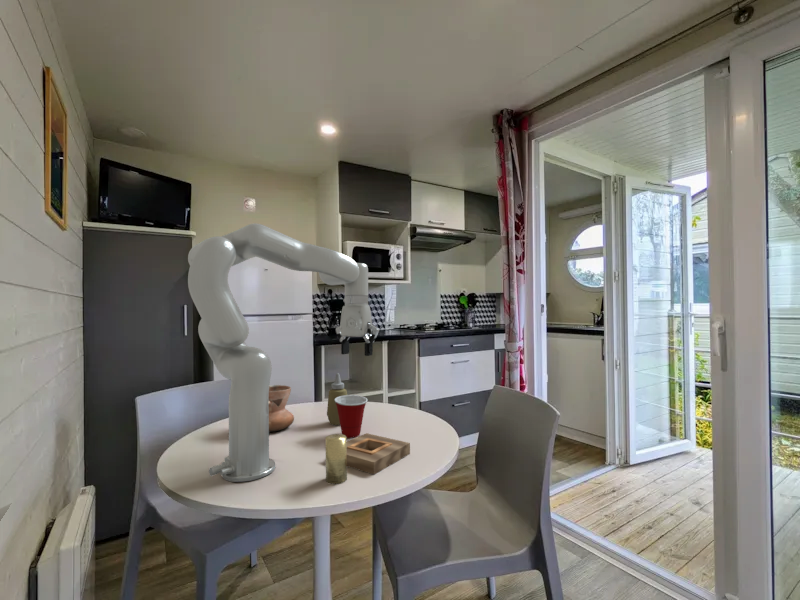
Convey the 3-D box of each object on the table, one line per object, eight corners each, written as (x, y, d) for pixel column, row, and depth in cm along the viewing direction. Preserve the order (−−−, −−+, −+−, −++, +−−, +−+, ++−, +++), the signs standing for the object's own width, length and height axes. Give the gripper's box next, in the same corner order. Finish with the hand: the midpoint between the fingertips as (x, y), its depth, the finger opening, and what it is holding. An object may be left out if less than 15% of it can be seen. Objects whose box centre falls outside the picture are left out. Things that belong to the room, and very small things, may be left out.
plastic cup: (351, 443, 114) (351, 403, 114) (327, 436, 121) (327, 399, 121) (375, 433, 123) (374, 397, 123) (351, 427, 129) (351, 393, 130)
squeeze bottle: (354, 422, 136) (353, 372, 137) (339, 428, 129) (339, 376, 130) (336, 419, 140) (336, 371, 141) (322, 424, 133) (321, 374, 134)
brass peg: (336, 486, 86) (335, 442, 86) (321, 480, 89) (321, 438, 89) (351, 478, 90) (350, 436, 90) (336, 473, 93) (335, 432, 93)
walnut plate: (374, 474, 92) (374, 461, 92) (328, 460, 101) (328, 448, 101) (410, 453, 105) (409, 441, 105) (366, 443, 114) (366, 432, 114)
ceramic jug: (286, 436, 122) (287, 392, 123) (242, 436, 122) (242, 392, 122) (299, 421, 140) (300, 383, 141) (261, 421, 140) (261, 383, 140)
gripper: (328, 301, 122) (328, 354, 121) (370, 300, 112) (370, 357, 111) (344, 302, 128) (344, 352, 127) (385, 301, 118) (385, 355, 118)
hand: (356, 354), depth 119 cm, fingers open, 9 cm apart
